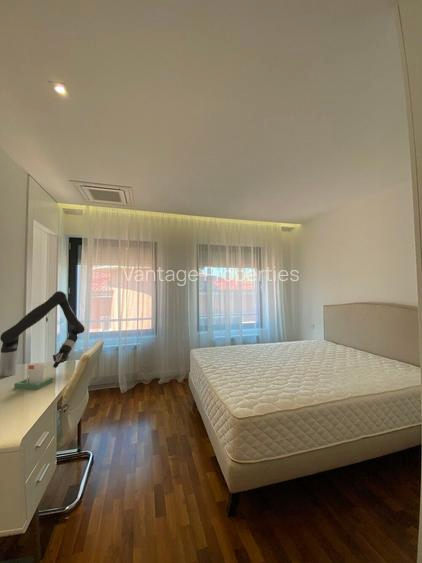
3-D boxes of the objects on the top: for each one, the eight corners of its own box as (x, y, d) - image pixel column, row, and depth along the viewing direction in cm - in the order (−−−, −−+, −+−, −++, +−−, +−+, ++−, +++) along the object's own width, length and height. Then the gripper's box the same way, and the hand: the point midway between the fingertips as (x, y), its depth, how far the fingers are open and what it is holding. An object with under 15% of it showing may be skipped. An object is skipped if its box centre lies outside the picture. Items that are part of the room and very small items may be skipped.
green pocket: (14, 388, 147) (15, 364, 148) (31, 380, 159) (32, 358, 160) (37, 389, 145) (38, 365, 146) (52, 382, 158) (54, 359, 159)
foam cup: (47, 382, 157) (49, 363, 158) (36, 387, 148) (37, 367, 149) (35, 381, 158) (36, 362, 159) (23, 387, 149) (24, 366, 150)
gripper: (57, 343, 180) (43, 364, 168) (72, 344, 179) (60, 365, 166) (61, 349, 185) (49, 369, 173) (77, 349, 184) (65, 370, 171)
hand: (54, 367), depth 170 cm, fingers closed
